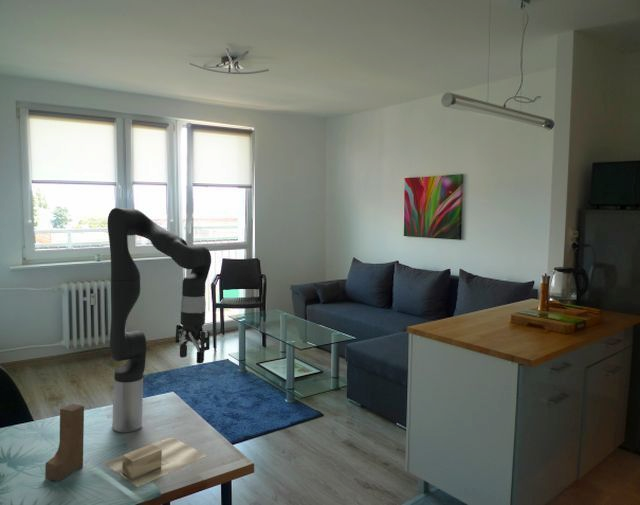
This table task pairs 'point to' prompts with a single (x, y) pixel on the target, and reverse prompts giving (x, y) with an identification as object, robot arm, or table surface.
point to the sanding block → (141, 462)
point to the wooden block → (68, 444)
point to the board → (163, 460)
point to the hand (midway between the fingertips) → (191, 360)
